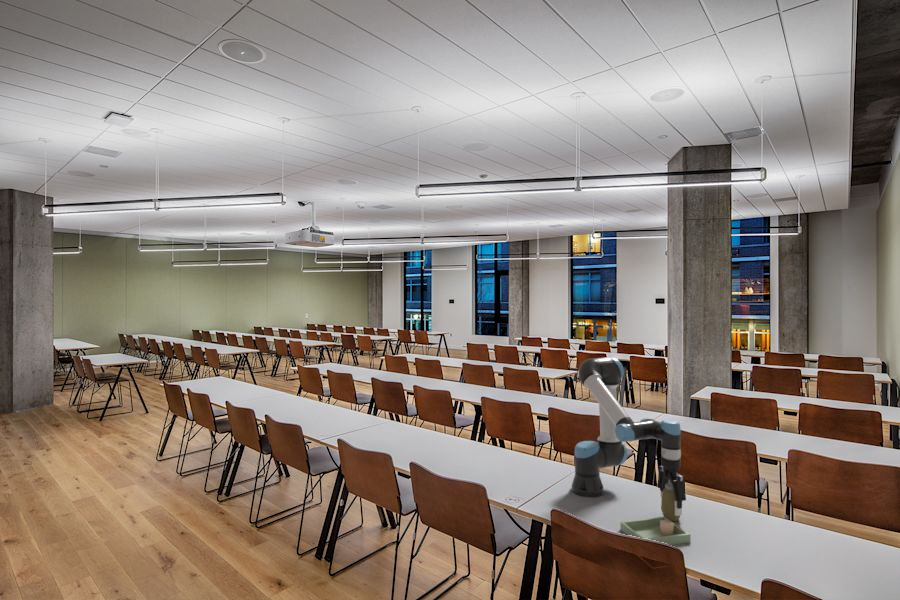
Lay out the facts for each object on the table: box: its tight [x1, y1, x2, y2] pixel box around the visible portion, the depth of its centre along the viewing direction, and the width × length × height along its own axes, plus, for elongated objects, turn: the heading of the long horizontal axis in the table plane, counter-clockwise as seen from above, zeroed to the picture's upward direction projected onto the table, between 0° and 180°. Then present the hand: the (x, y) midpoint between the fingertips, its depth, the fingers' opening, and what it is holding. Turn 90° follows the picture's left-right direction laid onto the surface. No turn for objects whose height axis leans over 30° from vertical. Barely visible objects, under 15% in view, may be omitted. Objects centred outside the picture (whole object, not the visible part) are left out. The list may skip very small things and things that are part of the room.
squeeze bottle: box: [660, 479, 681, 522], centre depth 209 cm, size 8×8×18 cm
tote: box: [619, 516, 691, 546], centre depth 195 cm, size 16×20×4 cm
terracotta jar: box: [660, 520, 675, 536], centre depth 196 cm, size 5×5×4 cm
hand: (671, 510), depth 209 cm, fingers closed on squeeze bottle, 8 cm apart
